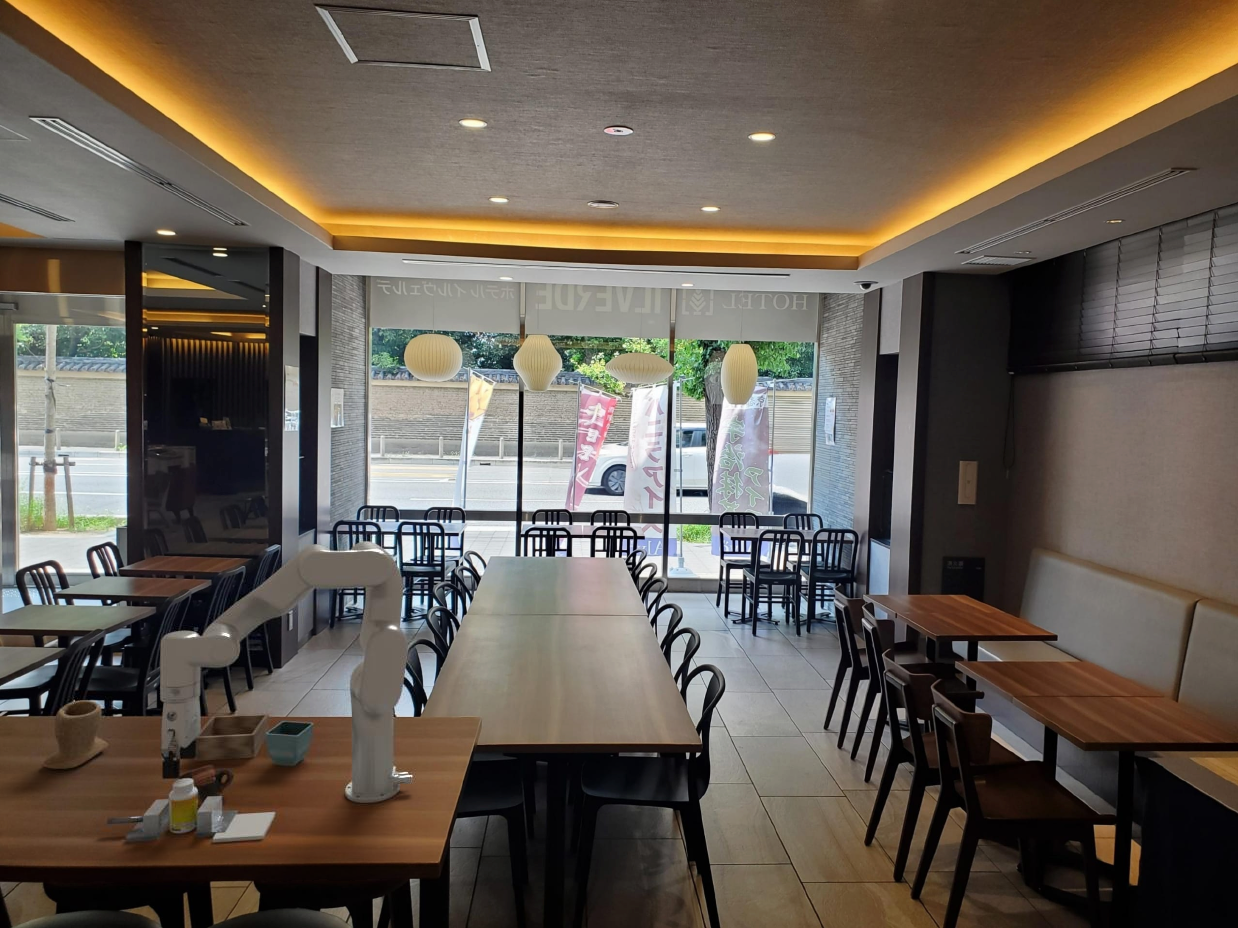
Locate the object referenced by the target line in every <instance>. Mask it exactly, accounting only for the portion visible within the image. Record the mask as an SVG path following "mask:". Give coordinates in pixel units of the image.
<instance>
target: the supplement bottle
mask: <svg viewBox="0 0 1238 928" xmlns="http://www.w3.org/2000/svg"><path fill="white" fill-rule="evenodd" d="M198 794H199V792H198V790H197V788H196V787H194V783H193V779H190V778H185V779H180V780H179V779H178V780H175V781H174V782H173V783H172V790H171V791H170V792H169V794H168V799H169V825H168V826H169V827H168V829H169V831H170V832H171V833H174V834H186V833H188V832H191V831H193V830H195V829H197V813H196V812H197V811H198V810H199V806H198Z"/></svg>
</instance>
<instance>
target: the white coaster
mask: <svg viewBox="0 0 1238 928" xmlns="http://www.w3.org/2000/svg"><path fill="white" fill-rule="evenodd" d="M275 816H276V811H272V812H270V811H269V812H255V813H254V812H252V813H241V814H240V813H238V814H236V815H235V817H234V818H233V820H232V822H231V823H230V825H229V827H228V828H227V830H226V832H218V833H216V834H215V836H213V837H212V843H224V842H238V841H239V842H240V841H254V840H264V839H265V836H266V834H267V833H268V830H269V829H270V827H271V825H272V823H273V820H274V819H275Z"/></svg>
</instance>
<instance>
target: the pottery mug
mask: <svg viewBox="0 0 1238 928" xmlns="http://www.w3.org/2000/svg"><path fill="white" fill-rule="evenodd" d="M224 776H226V780H225V781H224V782H223V781H222V780H223V777H224ZM234 777H235V775H234V774H233V771H232V770H231V769H229V768H223V769H219V770H215V769H214V765H213V764H209V765H205V766H202V767H198V768H196V769H192V770H190V771H188V772H185V773H183V774H180V776H179V778H178V780H180V779H185V778H190V779H193V783H194V787H196V788H197V790H198V807H199V806H200V807H201V805H202V804H203V803H204V801H205V800H206V798H207V797H212V796H220V795H219V794H222V793H223V791H224V790H225V789H226V788H228V787H229V786H230V785H231V784H232V782H233V780H234ZM214 778H215V779H214Z"/></svg>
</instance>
